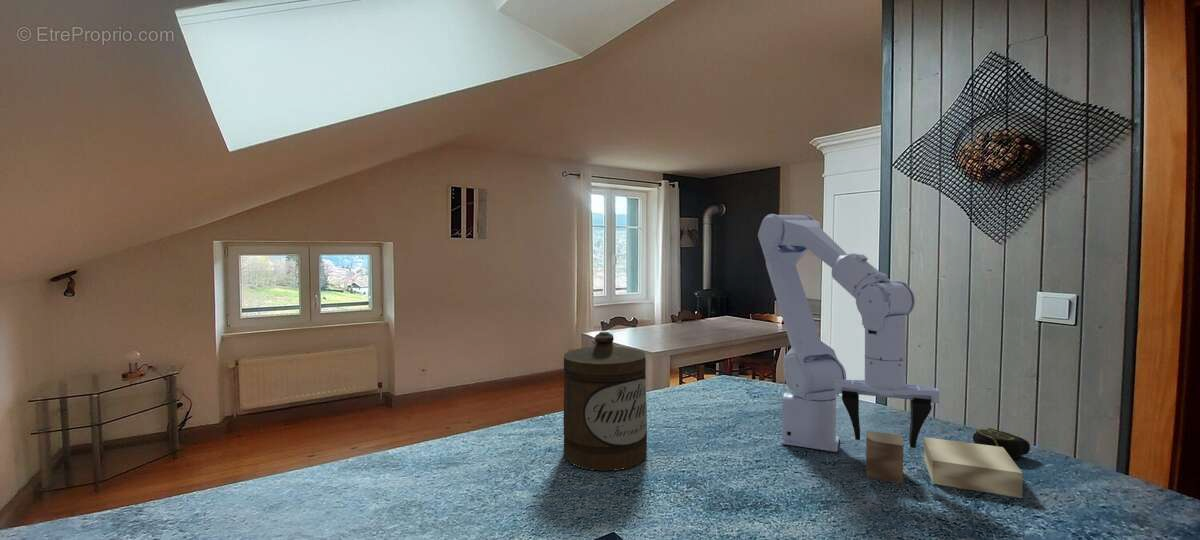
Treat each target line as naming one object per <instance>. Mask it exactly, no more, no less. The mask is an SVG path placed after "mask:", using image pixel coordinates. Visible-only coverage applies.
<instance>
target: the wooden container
mask: <svg viewBox="0 0 1200 540" xmlns="http://www.w3.org/2000/svg"><path fill="white" fill-rule="evenodd" d="M594 341H595V343H596V344H595V345H594V346H591V347H581V348H576V349H571V350H568V351H567V352H566V353H564V355H563V373H564V374H563V375H564V376H563V421H562V422H563V432H562V433H563V456H565V457H564V459H565V458H566V459H567V460H568V461H569V462H571V463H573V464H575V465H577V466H580V467H583V468H588V469H593V470H592V471H594V470H614V469H622V468H627V469H629V468H628V467H630V468H632V467H631V466H633V467H635V466H634V465H636V466H638V465H639V464H638V463H640V462H641V463H642V462H643V461H644V460H645V459H646V458H647V454H648V442H647V441H648V438H647V437H648V408H647V406H648V405H647V404H648V403H647V376H646V375H647V373H646V370H647V369H646V366H647V360H646V357H647V356H646V353H645V352H644V351H642V350H639V349H634V348H630V347H624V346H623V347H622V346H615V345H614V343H613V342H614V335H613V334H612V333H610V332H608V331H601V332H599V333H597V334H596V335H595V336H594ZM566 459H565V460H566ZM567 460H566V461H567ZM568 461H567V462H568ZM569 462H568V463H569ZM571 463H570V464H571ZM641 463H640V464H641ZM637 464H638V465H637ZM577 466H576V467H577ZM583 468H582V469H583Z"/></svg>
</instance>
